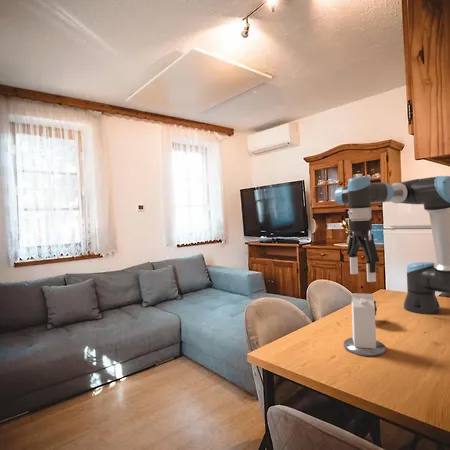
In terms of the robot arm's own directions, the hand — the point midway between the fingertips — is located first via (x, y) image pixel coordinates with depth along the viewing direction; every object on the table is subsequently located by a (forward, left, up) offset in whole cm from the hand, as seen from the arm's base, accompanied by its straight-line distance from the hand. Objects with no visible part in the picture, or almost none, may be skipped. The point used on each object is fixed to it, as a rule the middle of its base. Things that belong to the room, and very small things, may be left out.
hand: (362, 277), depth 115 cm
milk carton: (0, 0, -25) cm, 25 cm away
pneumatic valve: (-13, -25, -26) cm, 38 cm away
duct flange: (0, 0, -26) cm, 26 cm away
